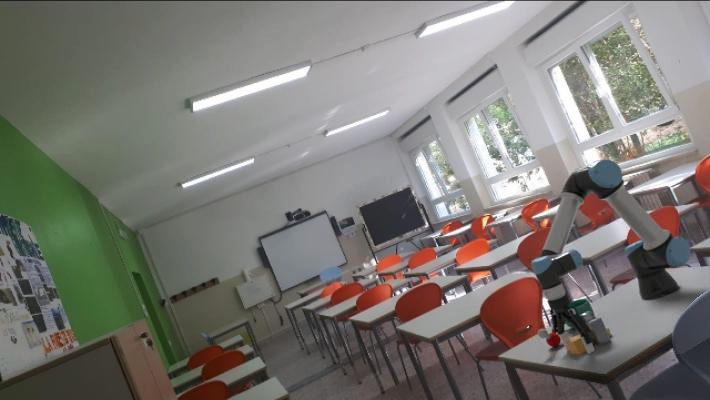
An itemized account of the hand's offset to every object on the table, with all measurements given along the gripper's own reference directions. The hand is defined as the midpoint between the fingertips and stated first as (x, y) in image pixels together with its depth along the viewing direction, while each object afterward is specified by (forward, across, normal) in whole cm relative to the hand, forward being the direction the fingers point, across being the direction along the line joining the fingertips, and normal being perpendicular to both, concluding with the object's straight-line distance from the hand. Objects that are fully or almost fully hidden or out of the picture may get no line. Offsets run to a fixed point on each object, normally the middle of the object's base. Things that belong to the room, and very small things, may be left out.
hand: (580, 350), depth 213 cm
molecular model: (0, -18, +2) cm, 18 cm away
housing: (0, 0, +8) cm, 8 cm away
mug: (0, -27, +20) cm, 34 cm away
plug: (0, 0, +6) cm, 6 cm away
